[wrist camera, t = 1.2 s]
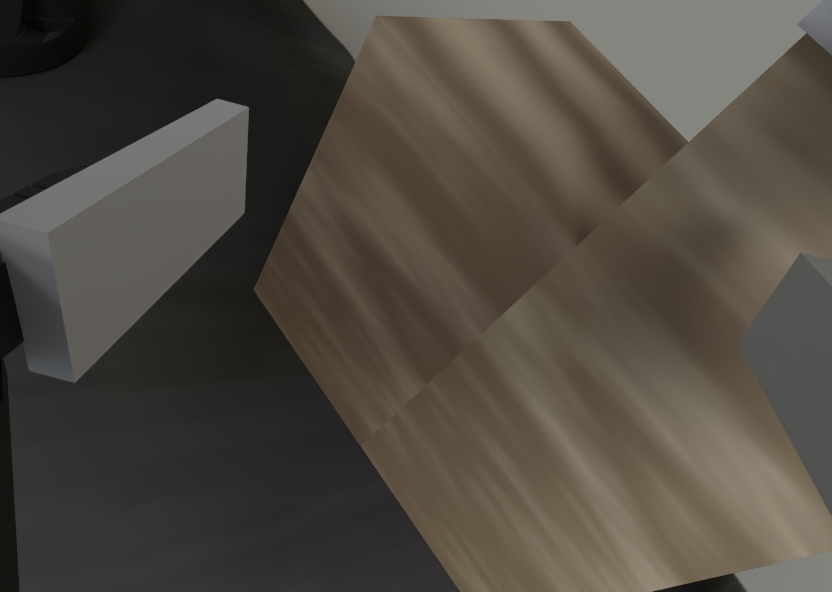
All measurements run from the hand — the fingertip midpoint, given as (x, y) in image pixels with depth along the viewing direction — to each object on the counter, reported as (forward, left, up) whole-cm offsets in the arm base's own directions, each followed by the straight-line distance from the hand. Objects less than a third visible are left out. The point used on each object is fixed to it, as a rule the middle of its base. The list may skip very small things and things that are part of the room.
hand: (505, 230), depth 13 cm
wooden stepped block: (-4, +13, -22) cm, 26 cm away
